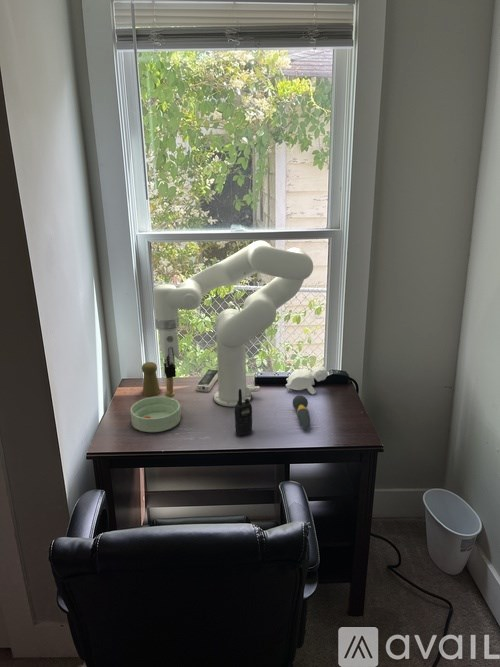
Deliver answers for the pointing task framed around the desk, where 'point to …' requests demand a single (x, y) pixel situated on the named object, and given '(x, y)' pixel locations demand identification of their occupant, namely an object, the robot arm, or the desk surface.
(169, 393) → the muddler
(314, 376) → the white animal figurine
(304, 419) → the dark grey microphone
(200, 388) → the multiport hub
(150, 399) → the bowl
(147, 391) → the cork
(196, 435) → the desk surface
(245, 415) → the two-way radio
